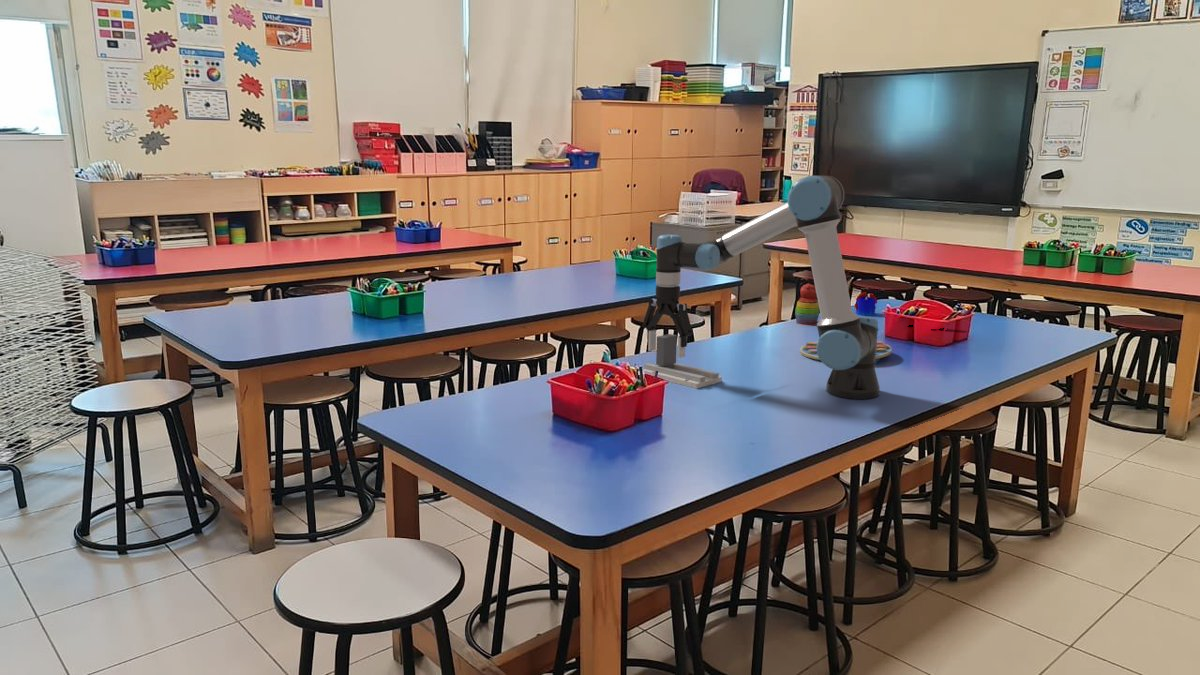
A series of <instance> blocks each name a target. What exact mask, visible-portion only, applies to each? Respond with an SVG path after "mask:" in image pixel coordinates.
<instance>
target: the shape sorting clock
mask: <svg viewBox="0 0 1200 675" xmlns="http://www.w3.org/2000/svg"><path fill="white" fill-rule="evenodd" d="M817 342H818V340H817V341H813V342H810V341H809V342H806V344H804V345H801V347H800V349H799V353H800V354H801V355H802V356H804V357H806V358H809V359H813V360H815V361H820V362H822V361H821V360H820V359H819V357H818V354H817ZM892 351H893V350H892V346H891V345H889V344H888V343H887V344H886V343H883V341H882V340H878V339H877V347H876V360H875V365H877V364H878V362H879V360H880V359H882V358H885V357H887V356H890V354H892Z"/></svg>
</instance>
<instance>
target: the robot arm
mask: <svg viewBox="0 0 1200 675" xmlns="http://www.w3.org/2000/svg"><path fill="white" fill-rule="evenodd" d="M788 191H789V192H788V195H787V201H786V202H784V203H782V204H781V205H778V206H776V207H774V208H773V209H771V210H768V211H767V212H764V213H763V214H761V215H759V216H756V217H755V218H753V219H751V220H749V221H748V222H746V223H743V224H741V225H739V226H737V227H735V228H734V229H732V230H730V231H728V232H726V233H724V234H722V235H720V236H718V237H716V238H714V239H712V240H707V241H704V242H698V243H697V242H684V241H683V240H682V236H681V235H678V234H661V235H659V236H658V237H657V240H656V248H655V250H656V271H655V272H656V273H655V284H656V286H655V297H656V298H649V299H648V307H647V309H646V313H645V315H644V318H643V320H642V321H643V322H642V328H645V329H646V331H647V332H646V336H647V337H646V338H647V341H648V343H647V344H648V348H647V350H648V352H653V351H657V330H656V327H657V325H658V323H659V322H660V319H662V317H663V315H666V316H669V317H670V318H671V320H672V321H673V324H674V326H675V327H676V330H677V333H678V334H679V336H677V353H676V358H678V359H679V358H685V357H686V347H687V346H688V336H693V329H692V324H691V321H690V317H689V314H688V304H687V303H680V302H679V300H680V297H681V287H680V284H681V272H682V271H681V270H682V268H688V269H689V268H691V269H701V270H715V269H716V268H717V267H718V265H721V264H724V263H727V261H729V260H730V259H732V258H733V257H735V256H737V255H739V254H741V253H743V252H746V251H747V250H750V249H752V248H753V247H755V246H758V245H760V244H763V242H766V241H768V240H770V239H772V238H773V237H776V236H778V235H780V234H782V233H785V232H786V231H788V230H790V229H792V228H794V227H796V226H797V229H798V231H800V232H802V233H803V235H804V236H805V237H804V238H805V242H806V247H807V251H808V256H809V258H808V259H809V262H810V267H811V272H812V277H813V283H814V286H815V288H816V294H817V297H816V299H817V302H818V306H819V315H820V319H819V321H817V325H816V327H817V332H818V337H819V338H818V340H817V341H818V342H817V341H816V342H817V354H818V357H819V359H820V360H821V361H820V362H821V363H822V364H824V366H826V367H828V368H829V369H831V373H830V375H829V377H828V379H827V382H826V391H825V392H827V393H828V394H830V395H833V396H834V397H839V398H842V399H843V398H844V399H851V400H852V399H853V400H854V399H855V400H866V399H867V400H869V399H874V398H878V397H879V395H880V389H881V388H880V384H879V380H878V376H877V373H876V372H877V371H876V364H875V360H876V347H877V340H878V333H879V322H878V319H877V318H875V317H871V316H861V315H857V314H856V312H854V311H853V308H852V303H851V298H850V291H849V287H848V282H847V277H846V273H845V266H844V261H843V257H842V251H841V246H840V242H839V240H840V239H839V236H838V230H837V226H838V225H839V223H840V221H841V216H840V210H839V209H840V208H841V207H842V205H843V203H844V200H845V190H844V187H843V185H842V183H841V182H840V181H839V180H838V179H837V178H836V177H834V176H831V175H826V174H822V175H821V174H820V175H807V176H805V177H802V178H800V179H798V180H797V181H796V182H794V183H793V185H792V186H791V187H790V190H788Z"/></svg>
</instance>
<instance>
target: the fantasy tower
mask: <svg viewBox="0 0 1200 675" xmlns="http://www.w3.org/2000/svg"><path fill="white" fill-rule="evenodd" d="M867 294H868V293H867V292H866V291H865V292H862V293H859V294H858V295H857V296H856V298H855V301H856V302H855V303H854V308H855V314H856V315H858V316H862V317H874V316H875V315H876V314H875V313H876V308H877V306H876V304H878V299H877V296H875V294H874V293H872V292H870V293H869V295H868V296H867Z"/></svg>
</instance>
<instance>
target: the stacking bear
mask: <svg viewBox="0 0 1200 675" xmlns="http://www.w3.org/2000/svg"><path fill="white" fill-rule="evenodd" d="M799 292H800V297H799V299H798V300H797V302H796V307H795V313H794V315H795V320H796V324H798V325H803V326H808V327H809V326H811V327H817V323H818V319H819V316H820V309H819V304H818V299H817V294H816V288H815V284H810V283H809V282H808V283H806V284H803V285H802V286H801V287H800V289H799Z"/></svg>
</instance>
